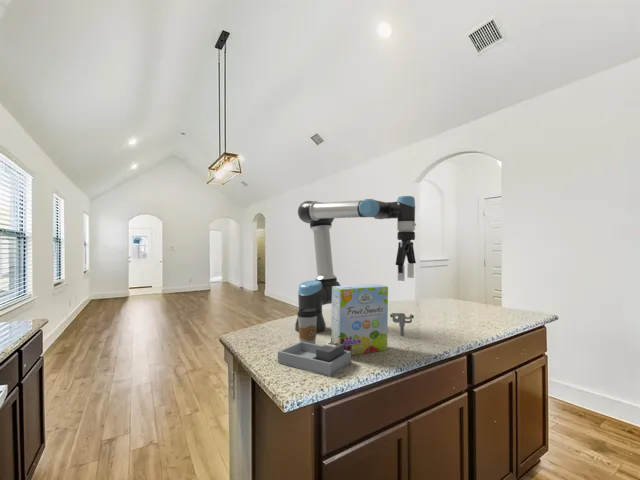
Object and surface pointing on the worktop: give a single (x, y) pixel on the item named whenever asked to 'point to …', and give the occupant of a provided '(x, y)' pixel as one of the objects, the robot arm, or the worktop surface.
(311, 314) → the coffee cup
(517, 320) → the worktop surface
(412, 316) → the mechanical component
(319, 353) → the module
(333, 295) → the snack box
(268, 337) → the worktop surface
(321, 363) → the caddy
